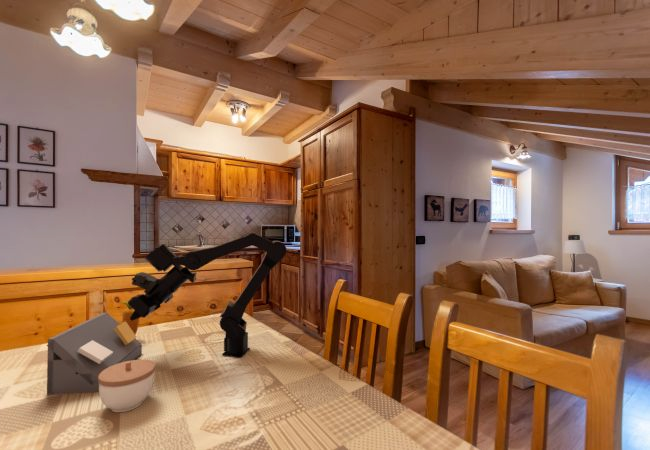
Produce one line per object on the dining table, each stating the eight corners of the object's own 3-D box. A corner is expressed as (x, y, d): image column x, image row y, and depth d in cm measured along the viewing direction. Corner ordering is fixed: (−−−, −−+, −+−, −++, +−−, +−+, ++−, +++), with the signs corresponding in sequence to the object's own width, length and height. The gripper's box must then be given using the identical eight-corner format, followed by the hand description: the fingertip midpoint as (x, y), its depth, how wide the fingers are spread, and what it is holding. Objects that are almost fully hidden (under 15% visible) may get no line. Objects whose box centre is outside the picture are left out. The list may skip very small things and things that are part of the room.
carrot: (130, 344, 101) (131, 299, 101) (118, 343, 102) (119, 299, 102) (142, 339, 105) (143, 296, 106) (130, 338, 106) (131, 295, 107)
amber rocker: (136, 339, 92) (140, 323, 92) (127, 345, 87) (131, 328, 87) (119, 336, 92) (123, 320, 92) (109, 342, 87) (113, 325, 87)
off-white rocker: (113, 354, 79) (109, 336, 78) (102, 363, 74) (98, 343, 73) (93, 359, 78) (89, 340, 78) (80, 368, 73) (76, 348, 73)
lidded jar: (111, 426, 60) (112, 378, 60) (88, 408, 66) (89, 365, 66) (164, 400, 69) (165, 359, 69) (140, 386, 75) (140, 348, 75)
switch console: (141, 353, 94) (142, 311, 94) (98, 391, 72) (99, 337, 72) (101, 355, 92) (102, 312, 92) (45, 394, 70) (46, 339, 71)
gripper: (163, 260, 100) (127, 293, 98) (136, 267, 81) (91, 309, 80) (188, 283, 101) (152, 317, 99) (166, 296, 82) (122, 337, 81)
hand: (131, 319), depth 90 cm, fingers closed
